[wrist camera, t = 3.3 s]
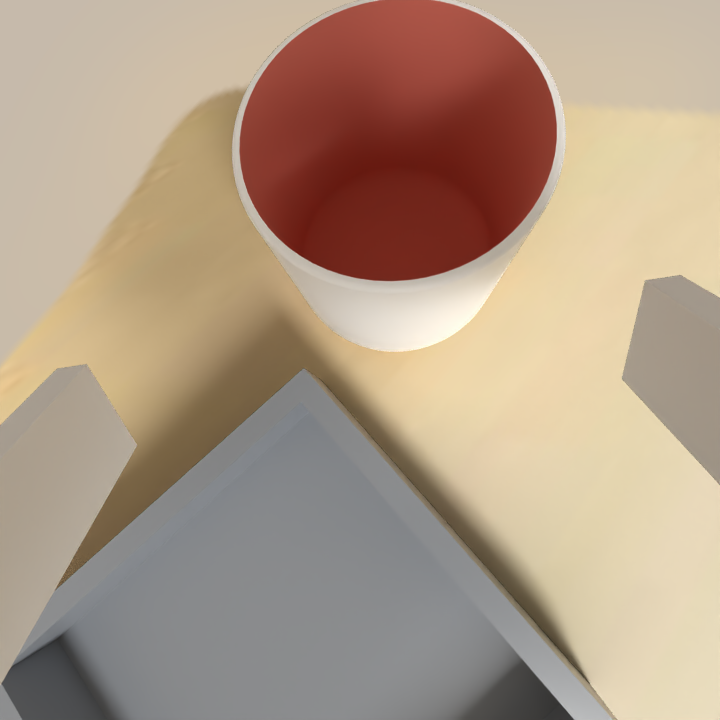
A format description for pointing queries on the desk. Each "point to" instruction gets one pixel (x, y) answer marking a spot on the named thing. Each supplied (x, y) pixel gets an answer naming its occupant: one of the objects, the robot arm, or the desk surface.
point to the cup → (398, 163)
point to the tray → (291, 598)
